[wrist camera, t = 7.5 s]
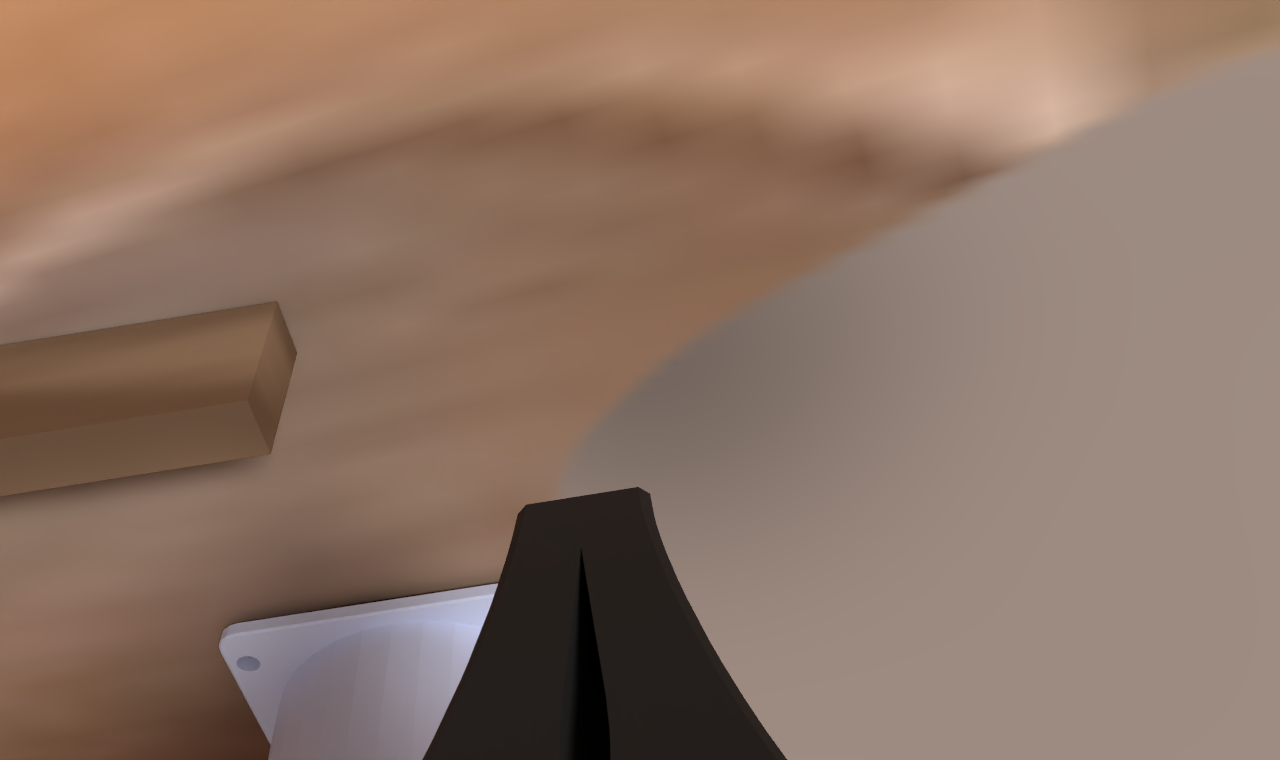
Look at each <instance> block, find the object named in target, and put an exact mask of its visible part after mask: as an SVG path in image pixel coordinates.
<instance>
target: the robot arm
mask: <svg viewBox="0 0 1280 760" xmlns="http://www.w3.org/2000/svg"><path fill="white" fill-rule="evenodd" d="M219 650H220V652H221V654H222V656H223V658H224V660H225V662H226V664H227V665H228V667H229V669H230V671H231V673H232V675H233V677H234V678H235V680H236V682H237V684H238V686H239V688H240V690H241V691H242V693H243V695H244V697H245V699H246V701H247V702H248V704H249V706H250V708H251V710H252V712H253V714H254V715H255V717H256V719H257V721H258V723H259V725H260V727H261V728H262V730H263V732H264V734H265V736H266V738H267V740H268V741H269V743H270V745H271V747H270V752H269V757H268V760H787V759H786V758H785V756H784V755H783V754H782V752H781V751H780V749H779V748H778V747H777V745H776V744H775V742H774V741H773V740H772V738H771V737H770V736H769V734H768V733H767V731H766V730H765V729H764V727H763V726H762V724H761V723H760V721H759V720H758V718H757V717H756V715H755V714H754V712H753V711H752V709H751V708H750V706H749V705H748V703H747V702H746V700H745V699H744V697H743V695H742V694H741V692H740V691H739V689H738V687H737V686H736V684H735V683H734V681H733V680H732V678H731V676H730V675H729V673H728V671H727V670H726V669H725V667H724V665H723V663H722V662H721V660H720V658H719V656H718V655H717V653H716V651H715V650H714V648H713V646H712V645H711V643H710V641H709V639H708V637H707V635H706V634H705V632H704V630H703V628H702V626H701V624H700V622H699V620H698V618H697V617H696V615H695V613H694V611H693V609H692V607H691V606H690V603H689V601H688V600H687V598H686V596H685V594H684V592H683V589H682V587H681V585H680V583H679V581H678V579H677V577H676V574H675V572H674V570H673V567H672V565H671V562H670V560H669V558H668V556H667V553H666V551H665V548H664V545H663V543H662V540H661V537H660V534H659V531H658V528H657V525H656V521H655V518H654V513H653V507H652V502H651V497H650V493H648V492H646V491H644V490H643V489H641V488H639V487H636V488H629V489H624V490H617V491H611V492H604V493H598V494H592V495H585V496H579V497H572V498H566V499H560V500H554V501H547V502H541V503H535V504H528V505H526V506H525V507H524V508H523V509H522V510H521V511H520V512H519V513H518V516H517V520H516V524H515V529H514V533H513V537H512V540H511V544H510V548H509V551H508V555H507V558H506V561H505V564H504V568H503V571H502V574H501V577H500V580H499V583H497V584H490V585H484V586H477V587H470V588H464V589H457V590H451V591H444V592H438V593H431V594H425V595H418V596H412V597H405V598H399V599H392V600H386V601H379V602H373V603H366V604H360V605H353V606H346V607H340V608H333V609H327V610H320V611H314V612H307V613H301V614H294V615H288V616H281V617H275V618H268V619H262V620H255V621H249V622H242V623H236V624H233V625H230V626H228V627H227V628H225V629H224V630H223V632H222V635H221V638H220V642H219ZM246 656H251V657H254V658H249V657H246Z"/></svg>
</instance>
